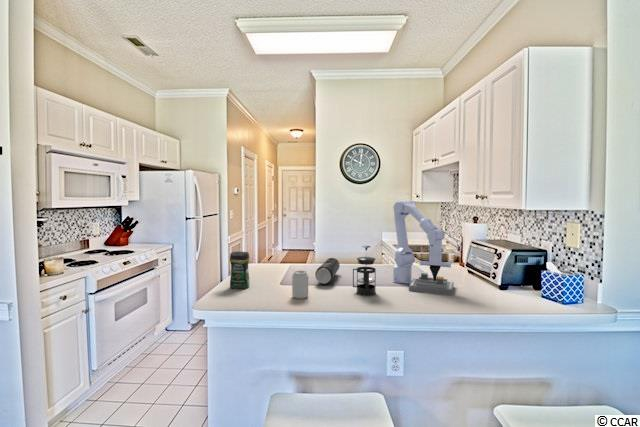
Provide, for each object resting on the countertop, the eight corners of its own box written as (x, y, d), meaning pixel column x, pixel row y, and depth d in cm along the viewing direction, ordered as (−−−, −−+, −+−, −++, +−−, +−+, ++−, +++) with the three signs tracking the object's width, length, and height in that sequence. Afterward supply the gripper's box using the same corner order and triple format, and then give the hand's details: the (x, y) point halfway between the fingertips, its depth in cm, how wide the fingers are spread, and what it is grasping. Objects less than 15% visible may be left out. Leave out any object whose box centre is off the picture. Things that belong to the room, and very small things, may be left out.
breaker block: (408, 290, 174) (409, 276, 174) (413, 283, 189) (413, 270, 189) (452, 295, 167) (452, 280, 166) (453, 286, 181) (453, 273, 181)
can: (310, 295, 167) (310, 270, 166) (304, 300, 160) (304, 274, 159) (296, 294, 169) (295, 269, 168) (289, 298, 162) (289, 272, 161)
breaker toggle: (436, 286, 172) (436, 277, 172) (437, 285, 175) (437, 276, 175) (443, 287, 171) (443, 278, 171) (443, 285, 174) (443, 276, 174)
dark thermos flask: (340, 274, 209) (340, 257, 209) (332, 287, 182) (332, 267, 181) (324, 274, 211) (324, 257, 210) (314, 286, 184) (314, 266, 183)
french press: (376, 290, 175) (376, 244, 174) (378, 295, 166) (378, 247, 164) (352, 290, 176) (352, 244, 174) (353, 295, 166) (353, 247, 165)
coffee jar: (227, 289, 178) (227, 252, 177) (233, 285, 186) (233, 250, 185) (246, 289, 176) (245, 253, 175) (251, 285, 184) (251, 250, 183)
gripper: (419, 253, 172) (418, 281, 173) (450, 255, 167) (450, 284, 167) (421, 251, 179) (420, 277, 180) (451, 253, 173) (450, 280, 174)
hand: (434, 280), depth 174 cm, fingers closed
